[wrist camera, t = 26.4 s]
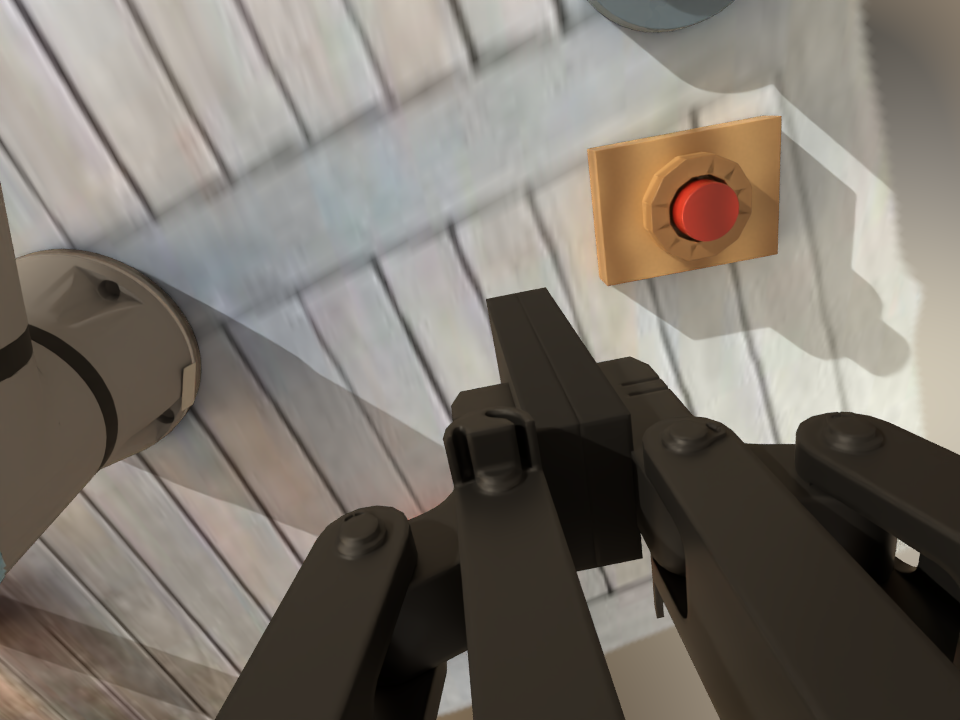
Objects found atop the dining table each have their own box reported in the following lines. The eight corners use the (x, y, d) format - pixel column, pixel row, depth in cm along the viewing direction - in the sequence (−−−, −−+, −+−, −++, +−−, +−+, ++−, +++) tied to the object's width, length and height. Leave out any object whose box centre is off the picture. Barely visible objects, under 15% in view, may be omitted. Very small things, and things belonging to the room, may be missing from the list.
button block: (599, 278, 43) (614, 293, 39) (587, 148, 40) (602, 153, 36) (761, 247, 43) (792, 260, 39) (764, 115, 39) (797, 116, 36)
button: (672, 241, 39) (683, 246, 37) (670, 184, 37) (681, 188, 36) (727, 230, 39) (739, 236, 37) (726, 174, 37) (739, 177, 36)
